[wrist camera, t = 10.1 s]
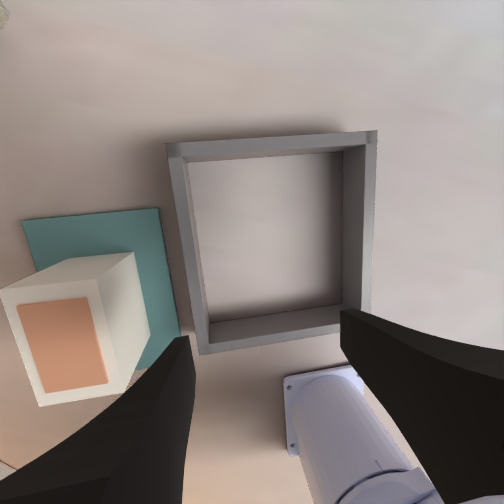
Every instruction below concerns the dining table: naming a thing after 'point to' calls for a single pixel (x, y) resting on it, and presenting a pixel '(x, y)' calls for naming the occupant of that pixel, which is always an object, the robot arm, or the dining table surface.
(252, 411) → the dining table surface
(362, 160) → the bin
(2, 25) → the egg carton
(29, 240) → the mat
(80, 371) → the box
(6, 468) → the small box
